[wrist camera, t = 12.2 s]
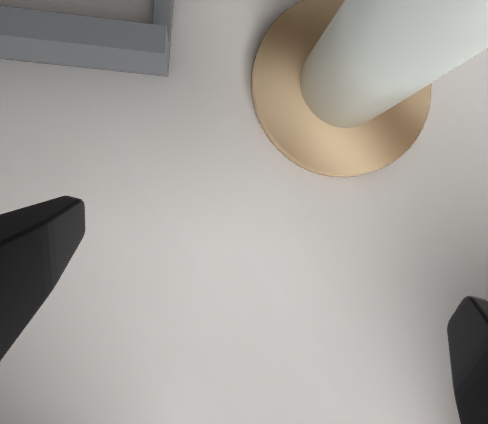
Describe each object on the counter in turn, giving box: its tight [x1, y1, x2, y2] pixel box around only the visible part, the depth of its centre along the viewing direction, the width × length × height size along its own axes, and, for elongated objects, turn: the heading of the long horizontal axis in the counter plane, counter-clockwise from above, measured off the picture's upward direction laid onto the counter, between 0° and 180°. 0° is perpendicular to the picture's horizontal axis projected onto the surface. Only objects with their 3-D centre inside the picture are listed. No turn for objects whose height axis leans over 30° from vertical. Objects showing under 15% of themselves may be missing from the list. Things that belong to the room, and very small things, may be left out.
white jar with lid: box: [300, 0, 488, 128], centre depth 14 cm, size 5×5×12 cm
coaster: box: [251, 0, 431, 177], centre depth 20 cm, size 9×9×1 cm
